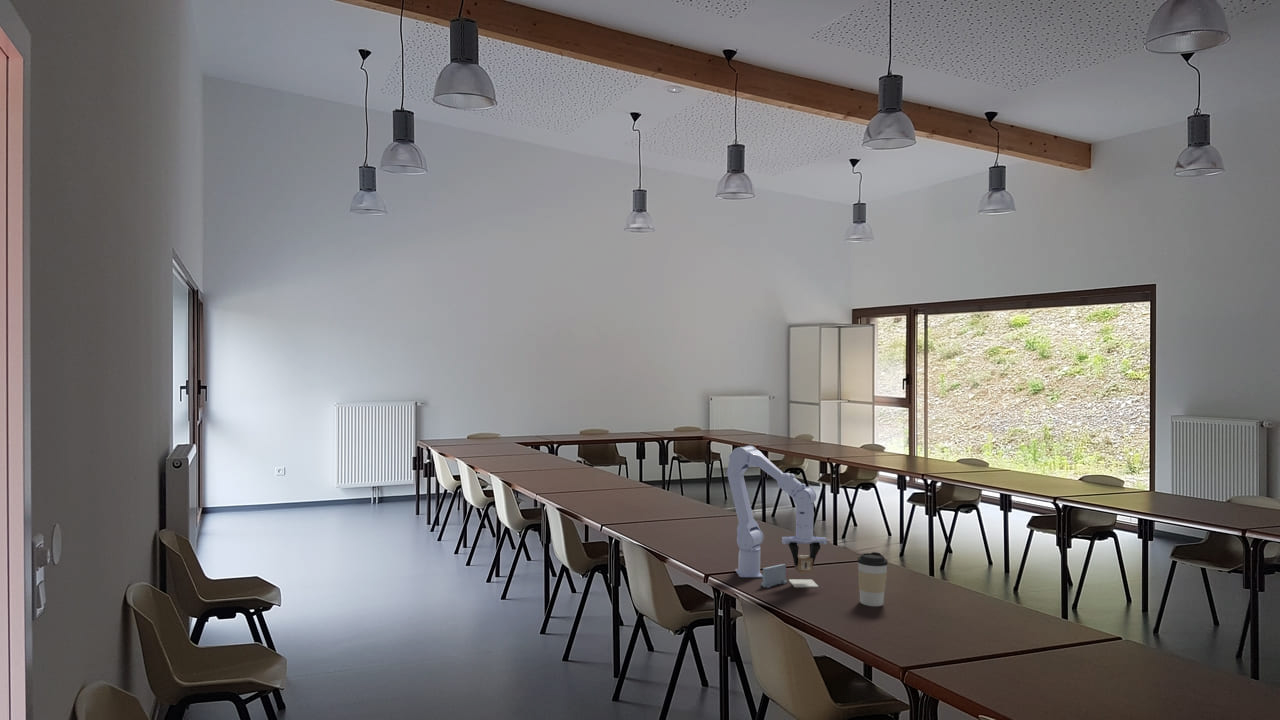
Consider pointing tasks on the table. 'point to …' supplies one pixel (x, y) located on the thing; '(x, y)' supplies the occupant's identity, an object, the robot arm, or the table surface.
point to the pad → (802, 583)
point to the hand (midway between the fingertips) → (803, 565)
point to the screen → (774, 575)
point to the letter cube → (804, 564)
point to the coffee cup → (872, 578)
